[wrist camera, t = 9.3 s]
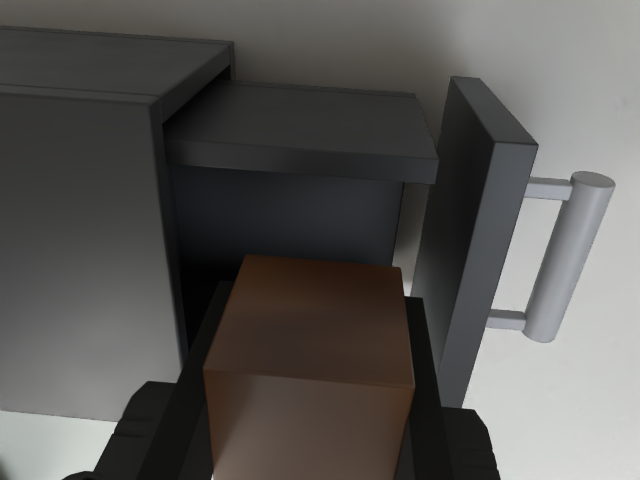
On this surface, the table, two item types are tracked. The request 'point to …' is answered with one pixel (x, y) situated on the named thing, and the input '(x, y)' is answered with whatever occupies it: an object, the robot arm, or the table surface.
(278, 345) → the block
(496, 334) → the table surface
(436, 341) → the drawer
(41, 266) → the cabinet
